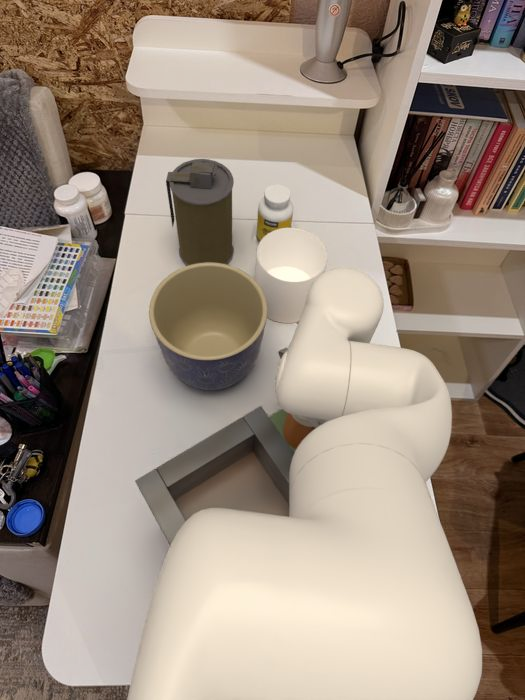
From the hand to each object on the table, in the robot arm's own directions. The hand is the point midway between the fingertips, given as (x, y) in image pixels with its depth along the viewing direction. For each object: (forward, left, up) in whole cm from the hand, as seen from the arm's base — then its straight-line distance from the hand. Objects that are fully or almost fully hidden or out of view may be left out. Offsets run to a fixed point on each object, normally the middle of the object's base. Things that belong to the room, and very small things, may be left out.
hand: (307, 414), depth 74 cm
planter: (+19, +5, -8) cm, 21 cm away
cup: (+23, -13, -8) cm, 27 cm away
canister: (+40, -6, -8) cm, 41 cm away
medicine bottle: (0, 0, -7) cm, 7 cm away
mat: (0, 0, -7) cm, 7 cm away
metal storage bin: (-8, +17, -7) cm, 20 cm away
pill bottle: (+36, -19, -8) cm, 41 cm away
